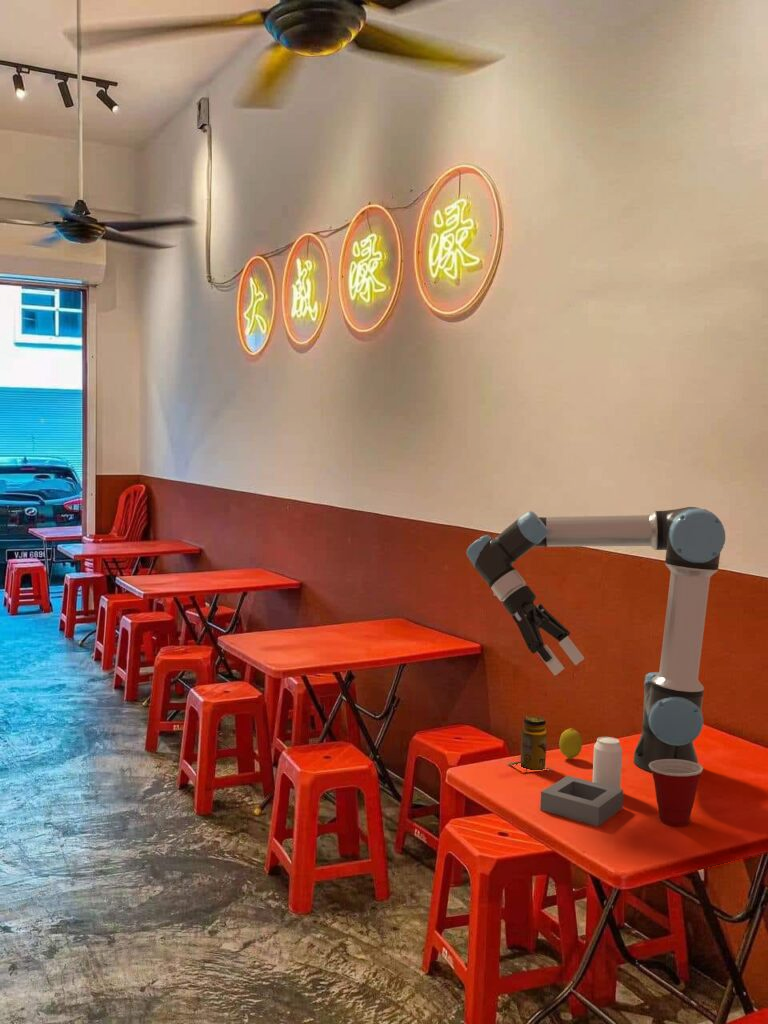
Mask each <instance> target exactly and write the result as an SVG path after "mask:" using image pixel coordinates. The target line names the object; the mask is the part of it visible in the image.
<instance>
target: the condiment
mask: <svg viewBox="0 0 768 1024" xmlns="http://www.w3.org/2000/svg"><path fill="white" fill-rule="evenodd" d="M546 723H547V722H546V719H545V718H543V717H541V716H535V715H532V716H530V715H529V716H525V717H524V718H523V725H522V726H523V728H522V729H521V735H520V736H521V740H520V741H521V742H520V761H517V762H516V761H514V762H507V763H506V764H507V765H508V766H510V765H514V764H516V765H517V764H518V763H521V767H523V768H526V769H530V770H543V769H545V767H547V768H546V769H549V770H548V771H552V770H553V768H551V767H548V766H547V765H546V757H547V736H548V734H547V733H548V731H547V730H546ZM509 764H510V765H509Z"/></svg>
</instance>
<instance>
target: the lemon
mask: <svg viewBox="0 0 768 1024" xmlns="http://www.w3.org/2000/svg"><path fill="white" fill-rule="evenodd" d="M558 743H559V745H558V746H559V750H560V752H561V754H562V755H563V756H565V757H566V758H567V759H568V760H572V759H573V758H576V757H577V756H578V755H580V753H581V751H582V748H583V741H582V737H581V734H580V733H579V732H578V730H575V729H574V728H573V727H570V728H568V729H565V730H564V731H563V732H562V733H561V735H560V738H559V741H558Z"/></svg>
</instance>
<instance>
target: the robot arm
mask: <svg viewBox="0 0 768 1024" xmlns="http://www.w3.org/2000/svg"><path fill="white" fill-rule="evenodd" d="M725 543H726V529H725V528H724V525H723V523H722V521H721V520H720V519H719V517H718V516H717V515H716V514H714V513H713V512H712V511H709V510H708V509H706V508H705V509H703V508H700V507H695V506H686V507H681V508H677V509H676V508H675V509H668V510H666V509H665V510H653V511H652V513H651V514H647V515H645V514H643V515H640V514H639V515H634V514H633V515H592V516H591V515H590V516H589V515H586V516H585V515H584V516H580V515H579V516H547V517H546V516H545V517H544V516H540V517H539V516H538V514H536V513H535V512H534V511H532V510H529V511H527V512H526V513H524V514H523V515H521V516H520V517H518V518H517V519H516V520H515V521H513V523H511V524H510V525H509V526H508V527H507V528H505V529H504V530H503V531H502V532H501V533H499V534H498V535H496V536H495V537H494V538H492V537H491V536H490V535H488V534H486V535H483V536H480V537H479V538H478V539H476V540H474V541H473V542H472V543H471V544H470V545H469V546H468V548H467V549H466V556H467V558H468V559H469V561H470V563H471V564H472V565H473V568H474V569H475V570H476V571H477V573H478V574H479V576H481V577H482V579H483V581H485V582H486V584H487V585H488V586H489V588H490V590H491V591H492V592H493V596H494V597H497V599H498V600H499V601H500V602H502V606H503V607H504V608H505V610H506V611H507V612H508V613H509V615H510V616H512V619H513V620H514V623H516V626H517V627H518V629H519V631H520V633H521V636H522V638H523V640H524V642H525V645H526V646H527V649H528V650H529V651H530V652H531V653H532V654H535V653H537V655H539V657H540V658H541V660H542V661H543V662H544V663H545V664H546V666H547V667H548V669H549V670H550V672H551V673H552V674H553V676H554V677H555V676H557V675H558V674H559V673H561V672H562V671H564V669H565V667H564V666H563V664H562V663H561V661H560V660H559V658H557V656H556V654H555V653H554V652H553V651H552V650H551V648H550V647H549V645H548V644H545V643H544V641H543V637H542V634H541V631H540V629H542V630H543V631H544V632H546V633H547V634H548V635H550V636H551V637H553V638H554V639H556V640H557V641H558V645H559V646H560V647H561V649H562V650H563V652H565V654H566V656H568V658H569V659H570V660H571V662H572V663H573V664H574V666H577V665H579V663H581V662H582V661H584V660H585V657H584V655H583V654H582V653H581V651H580V650H579V649H578V647H576V645H575V644H574V642H573V641H572V640H571V638H570V637H569V635H571V632H570V631H569V630H568V629H567V628H566V627H565V626H564V625H563V624H562V623H561V622H559V620H557V618H556V617H555V616H553V615H552V614H551V613H550V611H548V610H547V609H546V608H545V606H544V605H543V604H542V603H539V604H538V605H536V604H535V603H534V601H535V600H536V599H537V595H536V594H535V593H534V592H533V590H532V589H531V587H530V586H529V585H526V583H527V582H526V581H525V579H524V578H523V577H522V576H521V574H520V573H519V572H518V570H517V569H516V568H515V567H514V565H513V564H514V563H515V562H517V561H518V559H520V558H521V557H523V556H524V555H526V554H527V553H528V552H530V550H532V549H533V548H544V547H545V548H547V547H549V548H550V547H551V548H552V547H559V548H560V547H562V548H563V547H651V548H652V549H653V550H654V551H666V553H665V559H664V565H665V566H666V567H667V568H668V570H669V571H670V576H669V584H668V585H669V586H668V596H667V602H666V612H665V619H664V620H665V621H664V629H663V638H662V645H661V654H660V664H659V671H654V672H653V671H652V672H648V673H646V674H645V677H644V683H643V686H644V690H643V693H644V694H643V696H644V697H643V711H642V712H643V714H642V716H643V718H642V731H641V735H640V737H639V740H638V742H637V745H636V747H635V750H634V752H633V762H634V765H636V766H637V767H638V768H640V769H642V770H645V771H647V772H650V773H652V771H651V769H650V768H649V764H650V762H653V761H655V760H662V759H679V760H687V761H691V762H695V763H697V764H699V760H698V756H697V753H696V749H695V745H694V741H695V740H696V739H697V738H698V737H699V735H700V734H701V732H702V729H703V728H704V727H703V726H704V715H703V713H702V709H703V699H704V690H705V687H704V686H703V685H704V684H702V683H701V681H700V680H699V675H700V664H701V657H702V649H703V639H704V632H705V623H706V616H707V606H708V599H709V590H710V581H711V577H712V576H713V575H714V574H716V573H717V572H718V571H719V565H720V560H721V559H720V558H721V552H722V551H723V549H724V545H725Z"/></svg>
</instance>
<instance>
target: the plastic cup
mask: <svg viewBox="0 0 768 1024" xmlns="http://www.w3.org/2000/svg"><path fill="white" fill-rule="evenodd" d="M649 768H650V769H651V771H652V772H651V774H652V778H653V783H654V791H655V798H656V803H657V808H658V809H657V810H658V816H659V820H660V822H662V823H663V824H666V825H668V826H671V827H672V826H673V827H685V826H688V824H689V822H690V819H691V815H692V811H693V808H694V803H695V799H696V793H697V791H698V790H697V788H698V785H699V783H700V777H701V774H702V772H703V770H704V767H703V766H702V765H701V764H700V763H698V764H697V763H695V762H691V761H687V760H679V759H662V760H655V761H653V762H650V764H649Z"/></svg>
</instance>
